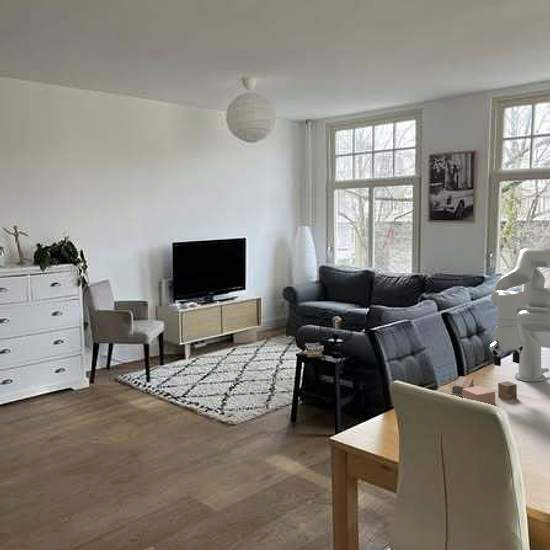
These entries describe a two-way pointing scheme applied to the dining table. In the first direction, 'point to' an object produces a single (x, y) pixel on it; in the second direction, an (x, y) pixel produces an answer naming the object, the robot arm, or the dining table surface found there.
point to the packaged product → (461, 385)
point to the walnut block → (507, 390)
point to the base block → (479, 394)
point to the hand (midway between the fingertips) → (506, 364)
